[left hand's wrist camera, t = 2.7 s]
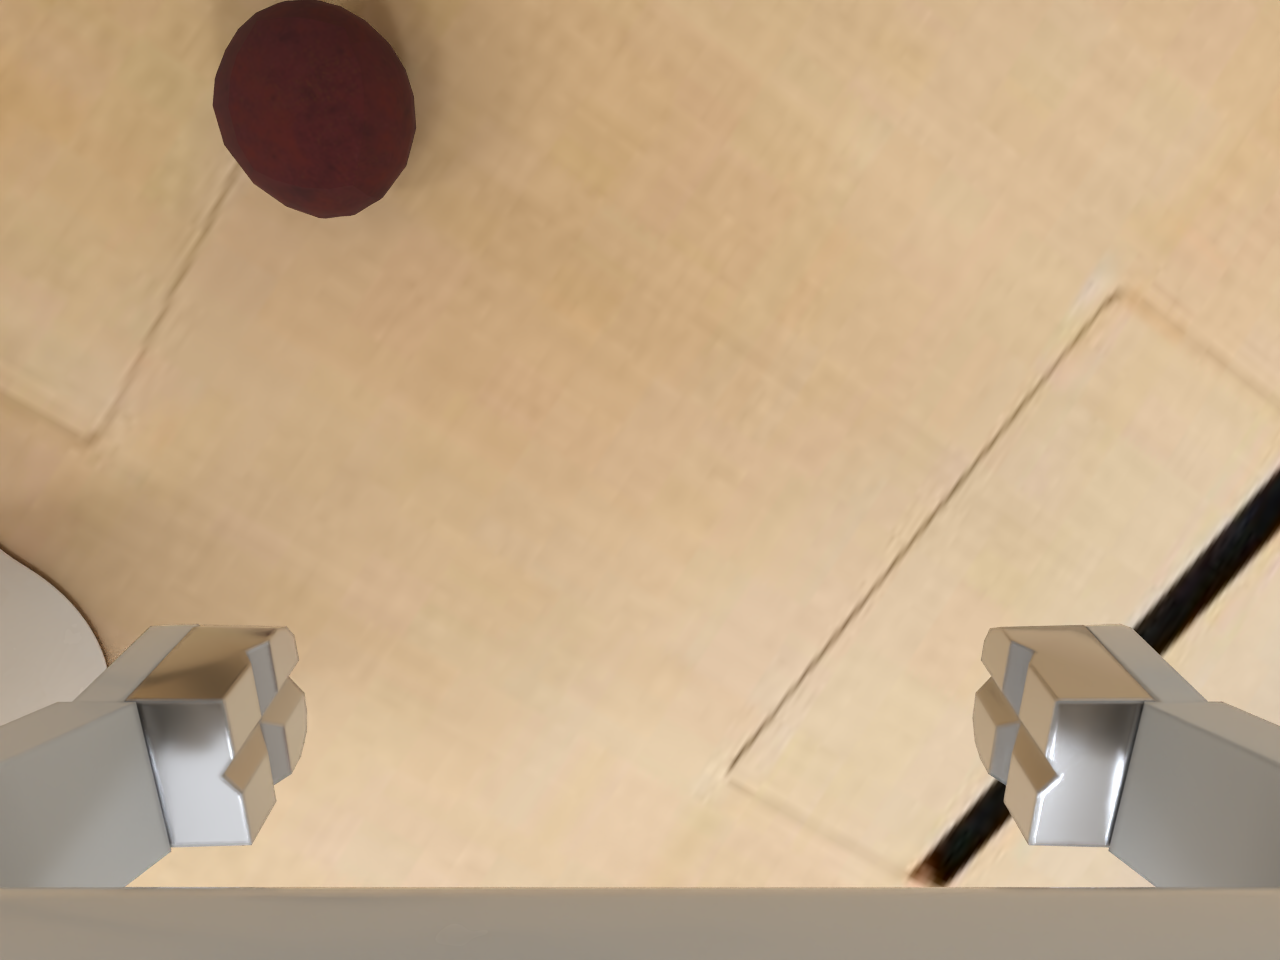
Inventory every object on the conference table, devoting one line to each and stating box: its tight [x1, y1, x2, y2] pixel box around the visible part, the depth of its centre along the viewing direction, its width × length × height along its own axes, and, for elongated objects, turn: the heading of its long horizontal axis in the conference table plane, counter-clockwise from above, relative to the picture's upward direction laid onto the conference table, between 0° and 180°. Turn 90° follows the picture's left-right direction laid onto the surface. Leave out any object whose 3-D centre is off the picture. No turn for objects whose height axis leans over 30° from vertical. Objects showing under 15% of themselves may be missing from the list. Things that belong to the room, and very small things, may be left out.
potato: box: [213, 0, 416, 218], centre depth 33 cm, size 7×8×7 cm
